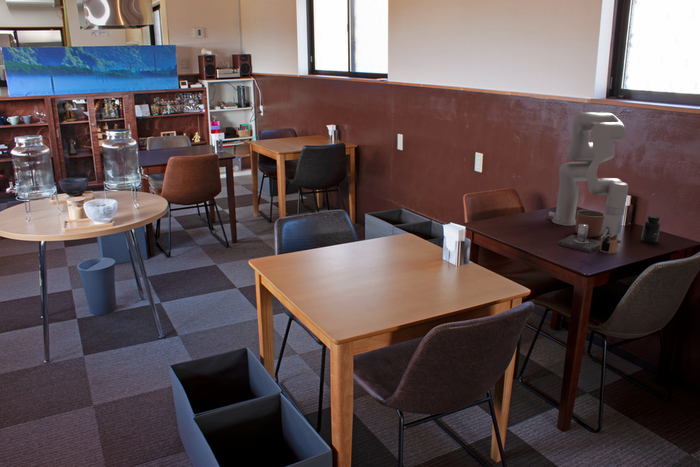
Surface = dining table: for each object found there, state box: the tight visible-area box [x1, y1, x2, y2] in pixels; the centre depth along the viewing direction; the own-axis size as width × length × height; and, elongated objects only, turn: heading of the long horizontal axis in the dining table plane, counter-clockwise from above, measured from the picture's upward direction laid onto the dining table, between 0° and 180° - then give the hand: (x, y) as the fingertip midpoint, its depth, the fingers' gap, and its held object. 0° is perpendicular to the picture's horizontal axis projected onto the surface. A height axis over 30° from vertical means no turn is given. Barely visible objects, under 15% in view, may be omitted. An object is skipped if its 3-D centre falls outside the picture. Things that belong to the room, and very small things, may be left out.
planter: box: [575, 209, 606, 238], centre depth 263 cm, size 12×12×11 cm
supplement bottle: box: [640, 214, 661, 244], centre depth 255 cm, size 7×7×12 cm
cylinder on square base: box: [557, 224, 601, 253], centre depth 248 cm, size 15×15×10 cm
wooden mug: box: [598, 235, 622, 254], centre depth 241 cm, size 8×7×6 cm
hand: (608, 248), depth 242 cm, fingers closed on wooden mug, 7 cm apart
